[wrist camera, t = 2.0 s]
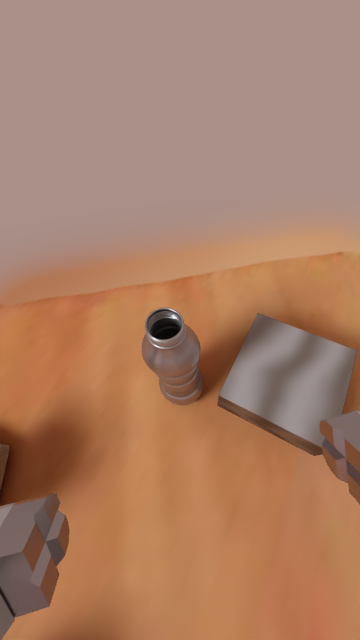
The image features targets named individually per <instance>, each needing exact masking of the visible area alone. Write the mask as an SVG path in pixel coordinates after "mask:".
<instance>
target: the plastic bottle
mask: <svg viewBox="0 0 360 640" xmlns="http://www.w3.org/2000/svg"><path fill="white" fill-rule="evenodd" d="M145 330H146V334H145V336H144V338H143V342H142V356H143V359H144V361H145V363H146V364H147V365H148V367H149V368H150V369H151V370H152V371H153V372H154V373H155V374H157V376H158V377H159V385H160V389H161V392H162V394H163V395H164V397H165V398H166V399H168V400H169V401H170V402H172V403H174V404H177V405H188V404H191V403H193V402H194V401H196V400H197V399H198V398H199V396H200V394H201V393H202V390H203V386H204V381H203V377H202V374H201V372H200V370H199V368H198V361H199V357H200V342H199V339H198V337H197V335H196V334H195V333H194V331H193V330H192V329H191V328H190V327H189V326H187V325H186V324H184V321H183V318H182V316H181V315H180V314H179V313H178V312H177V311H176V310H174V309H171V308H159V309H157V310H154V311H153V312H151V313H150V314H149V316H148V317H147V319H146V322H145Z"/></svg>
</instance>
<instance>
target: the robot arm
mask: <svg viewBox="0 0 360 640" xmlns="http://www.w3.org/2000/svg"><path fill="white" fill-rule="evenodd" d="M319 426H320V433H321V434H322V435H323V436H324V437H325V439H324V441H323V443H322V450H323V455H324V458H325V460H326V462H327V465H328V466H329V468H330V469H331V471H332V472H333V473H334V475H335V476H336V477H337V478H338V479H340V480H342V481H344V482H346V483H348V486H349V492H350V494H351V495H352V496H353V497H354V498H355V499H356V501H357V502H358V503H359V504H360V409H359V410H355V411H352V412H350V413H346V414H342V415H339V416H335V417H332V418H328V419H324V420H321V421H320V425H319ZM59 505H60V501H59V499H58V497H57V495H56V494H53V493H50V494H46V495H42V496H38V497H34V498H30V499H26V500H22V501H18V502H15V503H11V504H7V505H3V506H0V640H1V639H2V638H3V636H4V635H5V634H6V632H7V631H8V629H9V628H10V626H11V625H12V623H13V622H14V620H15V619H14V618H15V617H18V616H21V615H24V614H27V613H31V612H34V611H37V610H40V609H43V608H46V607H49V606H50V603H51V600H52V596H53V593H54V590H55V587H56V583H57V580H58V577H59V572H58V569H57V565H58V564H59V562H60V561H61V560H62V559H63V557H64V556H65V554H66V550H67V547H68V543H69V525H68V521H67V518H66V516H65V515H64V514H63V513H61V512H59V511H58V508H59Z"/></svg>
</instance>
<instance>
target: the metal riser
mask: <svg viewBox="0 0 360 640" xmlns="http://www.w3.org/2000/svg"><path fill="white" fill-rule="evenodd" d="M356 355H357V351H356V350H354V349H351V348H348V347H346V346H343V345H341V344H338V343H335V342H333V341H330V340H327V339H325V338H322V337H319V336H317V335H314V334H312V333H309V332H306V331H304V330H301V329H298V328H296V327H293V326H290V325H288V324H285V323H283V322H280V321H277V320H275V319H272V318H269V317H267V316H264V315H262V314H259V313H257V316H256V318H255V320H254V322H253V324H252V326H251V328H250V330H249V332H248V335H247V337H246V339H245V341H244V343H243V345H242V347H241V349H240V351H239V354H238V356H237V358H236V360H235V362H234V364H233V366H232V368H231V370H230V373H229V375H228V377H227V379H226V381H225V383H224V385H223V387H222V389H221V392H220V394H219V398H218V406H220V407H222V408H224V409H225V410H227V411H229V412H231V413H233V414H235V415H237V416H239V417H241V418H243V419H245V420H246V421H248V422H250V423H252V424H254V425H256V426H258V427H260V428H262V429H264V430H266V431H267V432H269V433H271V434H273V435H275V436H277V437H279V438H281V439H283V440H285V441H287V442H288V443H290V444H292V445H294V446H296V447H298V448H300V449H302V450H304V451H306V452H308V453H310V454H311V455H313V456H316V455H321V454H323V450H322V443H323V441H324V439H325V437H324V436H323V435H322V434H321V433H320V426H319V425H320V421H321V420H324V419H328V418H332V417H335V416H339V415H342V411H343V407H344V403H345V399H346V395H347V391H348V387H349V383H350V379H351V375H352V371H353V367H354V363H355V359H356Z"/></svg>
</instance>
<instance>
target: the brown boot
mask: <svg viewBox="0 0 360 640" xmlns="http://www.w3.org/2000/svg"><path fill="white" fill-rule="evenodd" d="M8 455H9V445H6V444H1V443H0V490H1V486H2V481H3V476H4V472H5V467H6V463H7V459H8Z"/></svg>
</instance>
